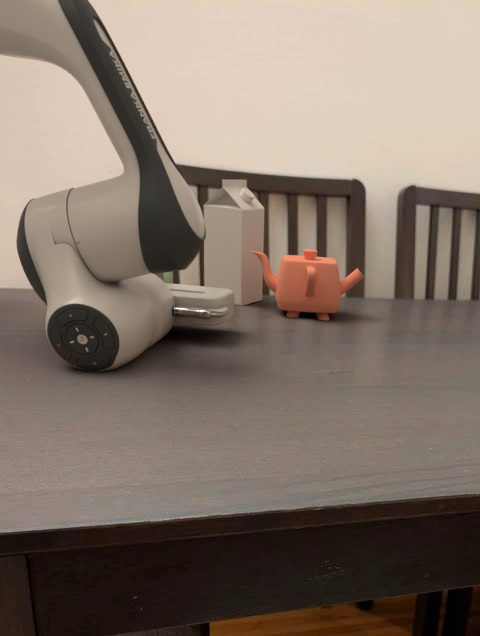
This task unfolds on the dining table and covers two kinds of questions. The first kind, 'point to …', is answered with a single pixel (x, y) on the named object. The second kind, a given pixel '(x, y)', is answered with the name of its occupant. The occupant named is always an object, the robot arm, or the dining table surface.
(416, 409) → the dining table surface
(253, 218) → the milk carton
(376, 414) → the dining table surface
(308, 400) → the dining table surface
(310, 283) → the teapot
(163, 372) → the dining table surface
